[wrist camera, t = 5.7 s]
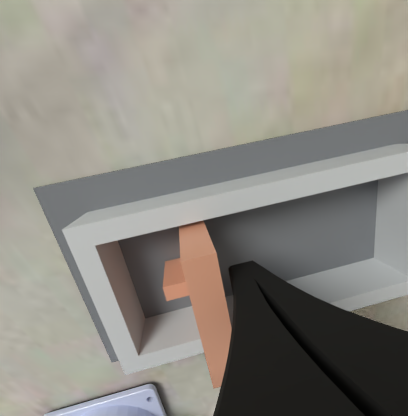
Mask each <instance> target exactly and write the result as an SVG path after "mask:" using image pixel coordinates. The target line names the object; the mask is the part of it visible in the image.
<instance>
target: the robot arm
mask: <svg viewBox="0 0 408 416" xmlns="http://www.w3.org/2000/svg"><path fill="white" fill-rule="evenodd" d="M228 270H229V276H230V281H231V287H232V292H233V321H232V331H231V339H230V345H229V351H228V357H227V362H226V367H225V371H224V376H223V380H222V384H221V389H220V393H219V397H218V401H217V404H216V408H215V411H214V415H213V416H408V332H407V331H404V330H401V329H397V328H394V327H391V326H388V325H385V324H382V323H379V322H376V321H373V320H370V319H368V318H365V317H362V316H359V315H357V314H354V313H351V312H349V311H346V310H344V309H341V308H339V307H337V306H334V305H332V304H330V303H327V302H325V301H323V300H321V299H318V298H316V297H314V296H312V295H310V294H308V293H306V292H304V291H302V290H301V289H299V288H297V287H295V286H293V285H291V284H290V283H288V282H286V281H284V280H283V279H281V278H279V277H278V276H276V275H274V274H273V273H271V272H270V271H268V270H267V269H265V268H264V267H262V266H261V265H259V264H257V263H256V262H254V261H253V260H252V261H248V262H244V263H240V264H236V265H232V266H230V267H229V268H228ZM43 416H166V413H165V410H164V408H163V405H162V403H161V400H160V397H159V395H158V392H157V389H156V387H155V386H154V385H153V384H146V385H143V386H139V387H136V388H132V389H129V390H125V391H122V392H118V393H115V394H112V395H108V396H105V397H101V398H98V399H94V400H91V401H87V402H84V403H80V404H77V405H74V406H70V407H67V408H63V409H60V410H56V411H53V412H49V413H47V414H44V415H43Z"/></svg>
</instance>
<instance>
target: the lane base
mask: <svg viewBox="0 0 408 416" xmlns="http://www.w3.org/2000/svg"><path fill="white" fill-rule="evenodd" d="M33 189H34V191H35V194H36V196H37V198H38V200H39V202H40V205H41V207H42V209H43V211H44V213H45V216H46V218H47V220H48V222H49V225H50V227H51V229H52V231H53V233H54V236H55V238H56V240H57V242H58V244H59V247H60V249H61V251H62V253H63V255H64V258H65V260H66V262H67V264H68V267H69V269H70V271H71V273H72V275H73V278H74V280H75V282H76V284H77V286H78V289H79V291H80V293H81V295H82V298H83V300H84V302H85V304H86V306H87V309H88V311H89V313H90V315H91V317H92V320H93V322H94V324H95V326H96V328H97V331H98V333H99V335H100V337H101V340H102V342H103V344H104V346H105V348H106V351H107V353H108V355H109V357H110V359H111V362H115V361H119V362H120V365H121V367H122V369H123V371H124V374H125V375H127V374H131V373H134V372H138V371H141V370H145V369H148V368H152V367H155V366H159V365H162V364H166V363H169V362H173V361H176V360H180V359H183V358H187V357H191V356H194V355H198V354H201V353H204V350H203V346H202V342H201V338H200V334H199V331H198V327H197V323H196V319H195V315H194V312H193V308H192V304H191V300H190V296H189V295H188V296H185V297H181V298H177V299H173V300H169V301H167V300H166V297H165V294H164V291H163V278H164V267H165V261H169V260H173V259H177V258H180V242H179V226H181V225H185V224H190V223H194V222H198V221H204V223H205V226H206V228H207V231H208V233H209V236H210V238H211V241H212V243H213V246H214V248H215V251H216V253H217V258H218V263H219V268H220V273H221V278H222V283H223V288H224V293H225V298H226V303H227V308H228V313H229V318H230V323H231V328H232V321H233V292H232V287H231V281H230V276H229V270H228V268H229V267H230V266H232V265H236V264H240V263H244V262H248V261H252V260H253V261H254V262H256V263H257V264H259V265H261V266H262V267H264V268H265V269H267V270H268V271H270V272H271V273H273V274H274V275H276V276H278V277H279V278H281V279H283V280H284V281H286V282H288V283H290V284H291V285H293V286H295V287H297V288H299V289H301V290H302V291H304V292H306V293H308V294H310V295H312V296H314V297H316V298H318V299H321V300H323V301H325V302H327V303H330V304H332V305H334V306H337V307H339V308H341V309H344V310H346V311H353V310H356V309H360V308H363V307H367V306H370V305H374V304H377V303H381V302H384V301H388V300H391V299H395V298H398V297H402V296H405V295H408V110H405V111H401V112H396V113H391V114H386V115H381V116H377V117H372V118H367V119H362V120H357V121H353V122H348V123H343V124H338V125H333V126H329V127H324V128H319V129H314V130H309V131H305V132H300V133H295V134H290V135H285V136H281V137H276V138H271V139H266V140H261V141H257V142H252V143H247V144H242V145H237V146H233V147H228V148H223V149H218V150H213V151H209V152H204V153H199V154H194V155H189V156H185V157H180V158H175V159H170V160H165V161H161V162H156V163H151V164H146V165H141V166H137V167H132V168H127V169H122V170H117V171H113V172H108V173H103V174H98V175H93V176H89V177H84V178H79V179H74V180H69V181H65V182H60V183H55V184H50V185H45V186H41V187H36V188H33Z"/></svg>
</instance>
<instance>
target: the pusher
mask: <svg viewBox="0 0 408 416" xmlns="http://www.w3.org/2000/svg"><path fill="white" fill-rule="evenodd" d="M179 242H180V258H177V259H173V260H169V261H165V267H164V278H163V291H164V294H165V297H166V300H167V301H169V300H173V299H177V298H181V297H185V296H188V295H189V296H190V300H191V304H192V308H193V312H194V315H195V319H196V323H197V327H198V331H199V334H200V338H201V342H202V346H203V350H204V353H205V357H206V361H207V365H208V369H209V372H210V376H211V380H212V384H213V388H217V387H221V384H222V380H223V376H224V371H225V367H226V362H227V357H228V351H229V345H230V339H231V331H232V328H231V323H230V318H229V313H228V308H227V303H226V298H225V293H224V288H223V283H222V278H221V273H220V268H219V263H218V258H217V253H216V251H215V248H214V246H213V243H212V241H211V238H210V236H209V233H208V231H207V228H206V226H205V223H204V221H198V222H194V223H190V224H185V225H181V226H179Z"/></svg>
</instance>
